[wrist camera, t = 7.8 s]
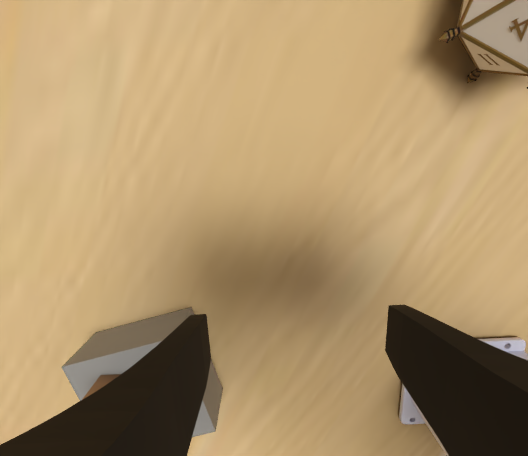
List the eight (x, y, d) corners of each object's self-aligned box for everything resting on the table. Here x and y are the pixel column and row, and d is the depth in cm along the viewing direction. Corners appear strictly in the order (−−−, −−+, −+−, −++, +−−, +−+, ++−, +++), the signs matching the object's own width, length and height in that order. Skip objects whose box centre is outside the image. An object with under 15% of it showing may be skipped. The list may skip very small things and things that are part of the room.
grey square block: (192, 304, 21) (176, 337, 17) (223, 385, 22) (215, 431, 19) (98, 329, 21) (61, 367, 17) (135, 407, 23) (110, 456, 19)
